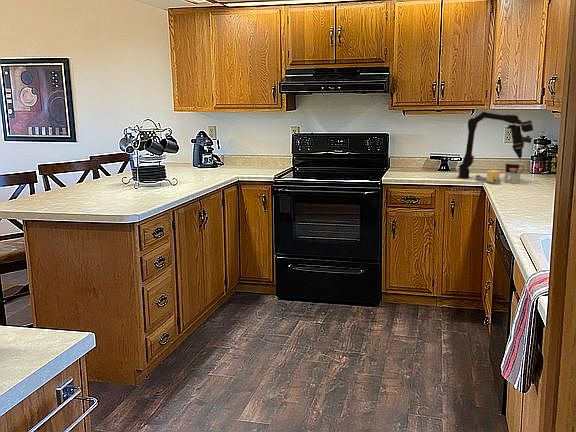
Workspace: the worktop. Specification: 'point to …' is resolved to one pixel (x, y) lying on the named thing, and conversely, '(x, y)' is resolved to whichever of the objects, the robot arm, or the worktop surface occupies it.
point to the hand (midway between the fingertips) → (520, 157)
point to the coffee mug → (512, 165)
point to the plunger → (513, 170)
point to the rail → (484, 179)
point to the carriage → (492, 175)
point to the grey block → (512, 178)
